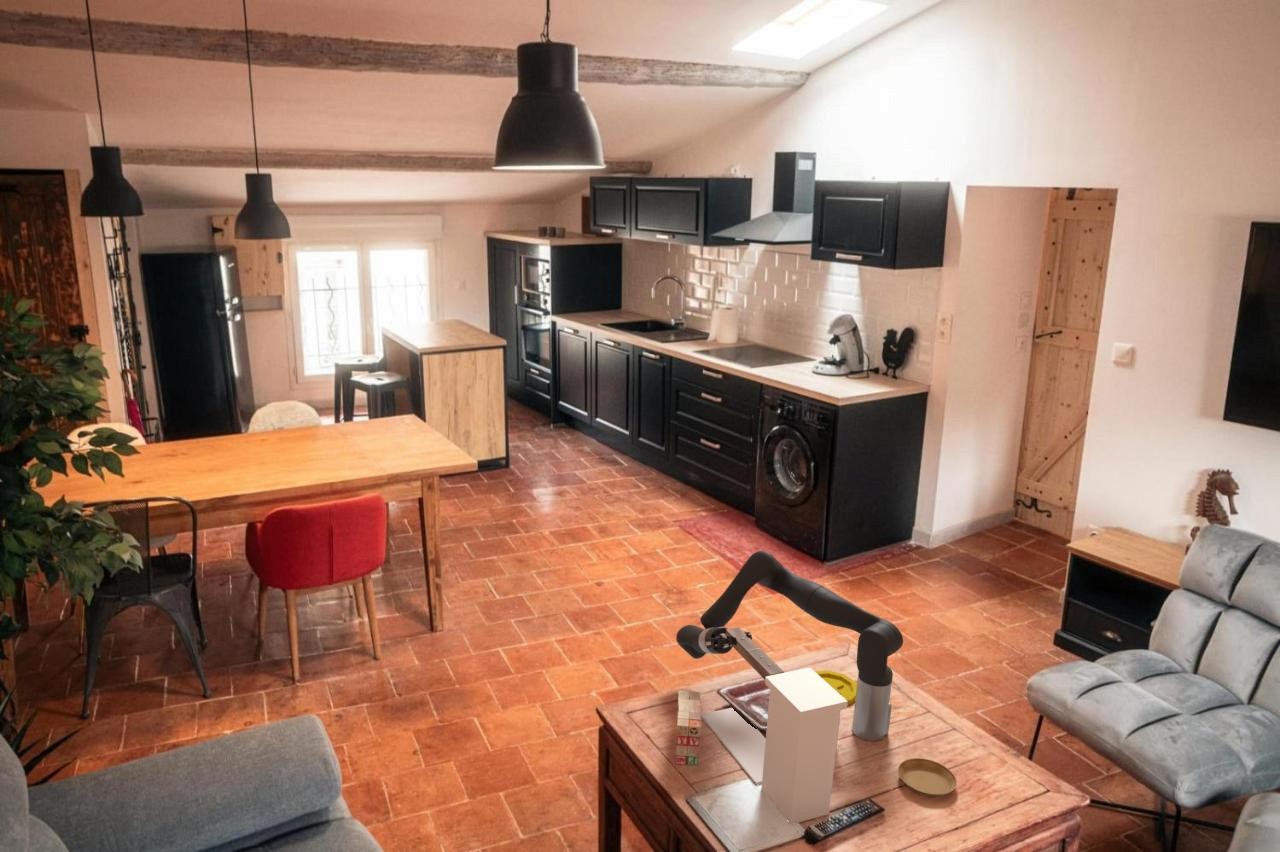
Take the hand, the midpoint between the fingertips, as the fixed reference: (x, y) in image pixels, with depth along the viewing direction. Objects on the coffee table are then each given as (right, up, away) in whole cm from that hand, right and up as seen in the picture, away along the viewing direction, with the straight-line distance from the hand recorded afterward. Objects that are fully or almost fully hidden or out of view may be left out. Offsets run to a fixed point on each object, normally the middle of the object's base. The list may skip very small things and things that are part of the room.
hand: (742, 639), depth 244 cm
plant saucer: (+47, -36, -10) cm, 60 cm away
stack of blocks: (-15, -29, +3) cm, 33 cm away
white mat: (+1, -30, +3) cm, 30 cm away
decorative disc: (+30, -24, +31) cm, 49 cm away
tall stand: (+11, -36, -19) cm, 42 cm away
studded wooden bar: (+2, -4, -5) cm, 7 cm away
